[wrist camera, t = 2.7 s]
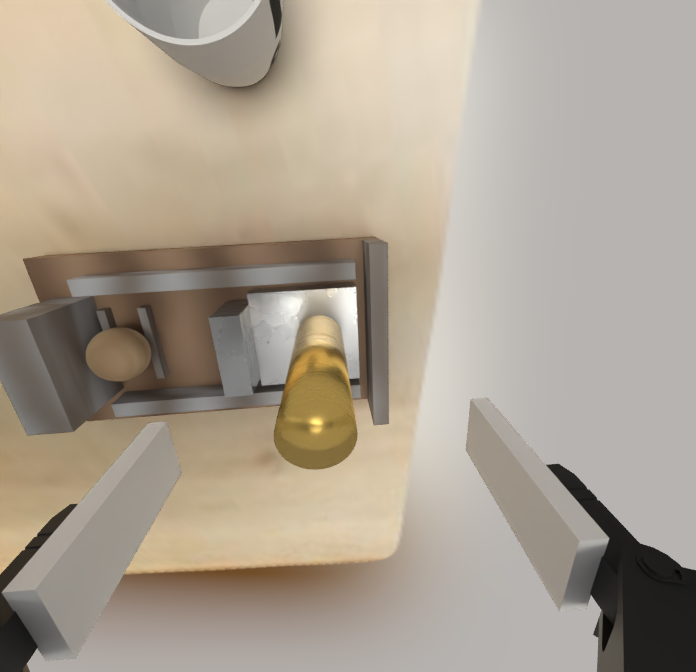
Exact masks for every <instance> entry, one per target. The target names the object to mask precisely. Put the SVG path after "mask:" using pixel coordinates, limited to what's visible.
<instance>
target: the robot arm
mask: <svg viewBox="0 0 696 672" xmlns="http://www.w3.org/2000/svg"><path fill="white" fill-rule="evenodd" d="M466 451H467V453H468V455H469V456H470V458H471V460H472V462H473V463H474V465H475V467H476V468H477V470H478V472H479V474H480V475H481V477H482V479H483V480H484V482H485V484H486V486H487V487H488V489H489V491H490V493H491V494H492V496H493V498H494V499H495V501H496V503H497V505H498V506H499V508H500V510H501V511H502V513H503V515H504V517H505V518H506V520H507V522H508V524H509V525H510V527H511V529H512V530H513V532H514V534H515V536H516V537H517V539H518V541H519V542H520V544H521V546H522V547H523V549H524V551H525V553H526V555H527V556H528V558H529V560H530V561H531V563H532V565H533V567H534V568H535V570H536V572H537V574H538V575H539V577H540V579H541V581H542V582H543V584H544V586H545V587H546V589H547V591H548V593H549V594H550V596H551V598H552V600H553V601H554V603H555V604H556V606H557V608H558V610H559V611H560V612H561V611H572V610H581V609H587V606H588V602H589V599H590V596H591V595H592V597H593V598H594V600H595V601H596V602H597V604H598V605H599V607H600V608H601V609H602V611H601V614H600V617H599V619H598V622H597V625H596V628H595V631H594V635H595V636H596V637H598V638H599V640H598V664H597V672H696V570H691V569H687V568H683V567H681V566H680V565H679V564H678V563H677V562H676V561H674V560H673V559H671V558H670V557H669V556H668V555H666V554H665V553H663V552H660V551H659V550H657V549H655V548H653V547H650V546H646V545H643V544H640V543H639V542H638V541H637V540H636V539H635V538H634V537H633V536H632V535H631V534H630V533H629V532H628V530H626V528H625V527H624V526H623V525H622V524H621V523H620V522H619V521H618V520H617V519H616V518H615V517H614V516H613V515H612V514H611V512H610V511H609V510H608V509H607V508H606V507H605V506H604V505H603V504H602V503H601V502H600V501H598V500H597V498H596V497H595V495H594V494H593V493H592V492H591V491H590V490H587V488H586V486H585V485H584V484H583V483H582V482H581V481H580V480H579V478H577V476H576V475H575V474H573V473H572V472H570V471H569V470H567V469H565V468H564V467H563V466H561V465H560V464H552V465H546V464H545V463H544V462H543V461H542V460H541V459H540V458H539V456H538V455H537V454H536V453H535V452H534V451H533V449H532V448H531V447H530V446H529V445H528V444H527V443H526V441H525V440H524V439H523V438H522V437H521V436H520V435H519V433H518V432H517V431H516V430H515V429H514V428H513V426H512V425H511V424H510V423H509V422H508V421H507V419H506V418H505V417H504V416H503V415H502V414H501V413H500V411H499V410H498V409H497V408H496V407H495V405H494V404H493V403H492V402H491V401H490V400H489V399H488V398H478V399H471V402H470V412H469V423H468V433H467V443H466ZM181 473H182V472H181V468H180V465H179V461H178V458H177V454H176V451H175V448H174V444H173V441H172V437H171V434H170V431H169V427H168V424H167V421H165V422H152V423H148V424H147V425H146V426H145V427H144V429H143V430H142V431H141V432H140V433H139V434H138V435H137V437H136V438H135V439H134V440H133V441H132V442H131V444H130V445H129V446H128V447H127V448H126V449H125V450H124V452H123V453H122V454H121V455H120V456H119V457H118V459H117V460H116V461H115V462H114V463H113V464H112V466H111V467H110V468H109V469H108V470H107V471H106V472H105V474H104V475H103V476H102V477H101V478H100V479H99V481H98V482H97V483H96V484H95V485H94V486H93V487H92V489H91V490H90V491H89V492H88V493H87V494H86V496H85V497H84V498H83V499H82V500H81V501H80V502H79V504H70V505H69V506H67V507H66V508H65V509H63V510H62V511H61V512H59V513H58V514H57V515H55V516H54V517H53V518H52V519H51V520H50V521H49V522H48V523H47V524H46V525H45V526H44V527H43V528H42V530H41V531H40V532H39V533H38V534H37V537H34V538H33V539H32V541H31V542H30V543H29V544H28V545H27V546H26V547H25V550H24V551H21V553H20V554H19V555H18V556H17V557H16V558H15V559H14V560H13V561H12V562H11V564H10V565H9V566H8V567H7V568H6V569H5V570H4V571H3V572H2V573H1V575H0V672H30V671H29V668H28V666H27V662H28V661H29V659H30V658H31V656H32V655H33V654H34V652H35V650H36V649H37V648H38V650H39V651H40V653H41V654H42V656H43V657H44V659H45V661H54V660H63V659H74V658H76V657H77V655H78V653H79V652H80V650H81V648H82V646H83V645H84V643H85V641H86V639H87V638H88V636H89V634H90V632H91V630H92V629H93V627H94V625H95V624H96V622H97V620H98V618H99V617H100V615H101V613H102V611H103V610H104V608H105V606H106V604H107V603H108V601H109V599H110V597H111V595H112V594H113V592H114V590H115V588H116V587H117V585H118V583H119V581H120V580H121V578H122V576H123V575H124V573H125V571H126V569H127V567H128V566H129V564H130V562H131V560H132V559H133V557H134V555H135V553H136V552H137V550H138V548H139V546H140V545H141V543H142V541H143V539H144V538H145V536H146V534H147V532H148V531H149V529H150V527H151V525H152V524H153V522H154V520H155V518H156V517H157V515H158V513H159V511H160V510H161V508H162V506H163V504H164V503H165V501H166V499H167V497H168V496H169V494H170V492H171V490H172V489H173V487H174V485H175V483H176V482H177V480H178V478H179V476H180V475H181Z"/></svg>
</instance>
